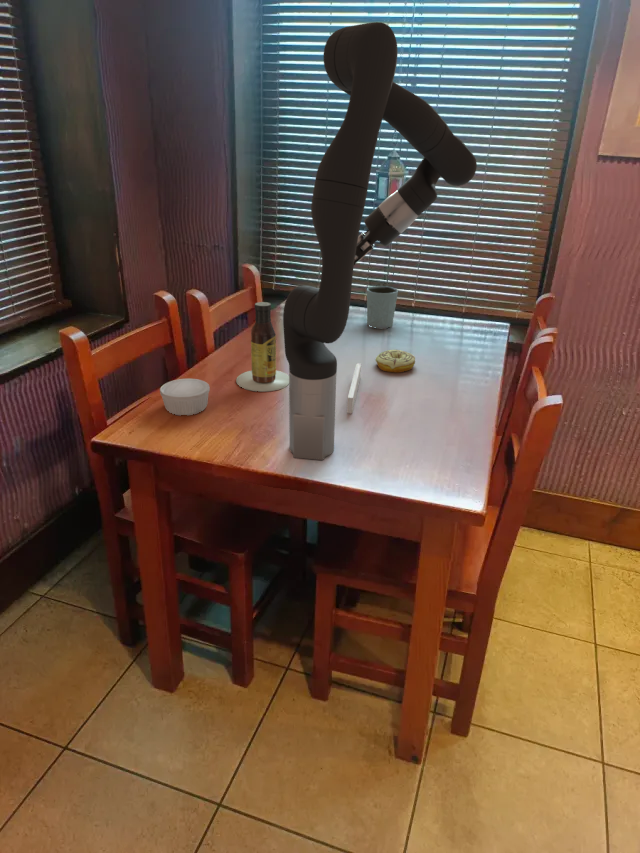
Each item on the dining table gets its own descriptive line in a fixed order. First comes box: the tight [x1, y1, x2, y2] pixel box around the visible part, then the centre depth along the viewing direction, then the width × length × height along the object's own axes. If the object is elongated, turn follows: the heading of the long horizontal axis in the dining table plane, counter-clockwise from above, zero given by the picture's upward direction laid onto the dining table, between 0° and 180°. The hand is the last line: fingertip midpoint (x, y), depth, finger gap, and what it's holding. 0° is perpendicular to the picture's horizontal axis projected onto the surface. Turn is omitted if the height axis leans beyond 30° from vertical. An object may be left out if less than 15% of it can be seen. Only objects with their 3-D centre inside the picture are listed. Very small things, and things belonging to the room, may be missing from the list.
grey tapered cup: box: [366, 285, 399, 329], centre depth 196 cm, size 10×10×12 cm
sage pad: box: [236, 369, 289, 393], centre depth 155 cm, size 14×14×1 cm
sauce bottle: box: [250, 301, 277, 383], centre depth 150 cm, size 7×6×20 cm
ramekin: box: [159, 378, 211, 416], centre depth 139 cm, size 11×11×5 cm
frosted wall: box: [346, 362, 362, 415], centre depth 147 cm, size 22×1×4 cm, turn 172°
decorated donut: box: [374, 349, 416, 374], centre depth 165 cm, size 10×11×4 cm
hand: (336, 269), depth 134 cm, fingers open, 8 cm apart
